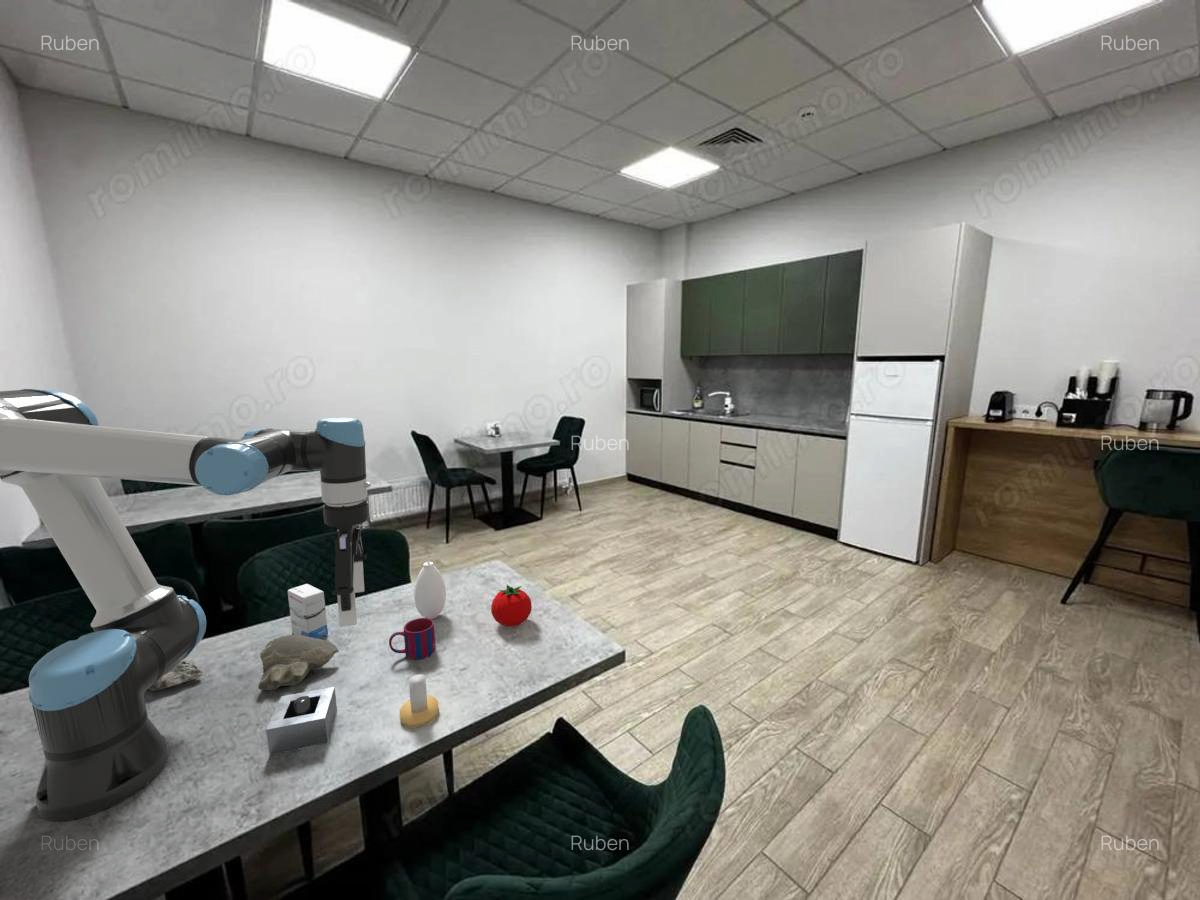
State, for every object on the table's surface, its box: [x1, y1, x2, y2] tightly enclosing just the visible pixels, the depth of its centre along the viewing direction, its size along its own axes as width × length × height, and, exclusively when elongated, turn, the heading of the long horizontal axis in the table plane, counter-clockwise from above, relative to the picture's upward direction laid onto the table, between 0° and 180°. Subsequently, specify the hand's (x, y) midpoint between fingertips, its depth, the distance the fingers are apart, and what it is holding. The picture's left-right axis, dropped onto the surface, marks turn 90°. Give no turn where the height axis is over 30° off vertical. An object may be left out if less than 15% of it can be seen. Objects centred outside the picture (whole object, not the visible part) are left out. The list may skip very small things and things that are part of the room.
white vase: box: [413, 553, 447, 620], centre depth 129 cm, size 8×8×18 cm
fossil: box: [257, 634, 340, 691], centre depth 106 cm, size 14×10×10 cm
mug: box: [388, 617, 437, 661], centre depth 114 cm, size 7×10×7 cm
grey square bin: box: [265, 686, 338, 756], centre depth 90 cm, size 9×9×5 cm
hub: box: [399, 674, 440, 728], centre depth 94 cm, size 7×7×8 cm
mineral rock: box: [148, 660, 204, 692], centre depth 104 cm, size 15×8×4 cm, turn 73°
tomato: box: [490, 584, 532, 628], centre depth 127 cm, size 10×10×10 cm
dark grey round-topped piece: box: [294, 696, 311, 717], centre depth 90 cm, size 4×4×6 cm
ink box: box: [287, 583, 329, 639], centre depth 122 cm, size 8×5×12 cm, turn 58°
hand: (352, 607), depth 94 cm, fingers open, 13 cm apart
